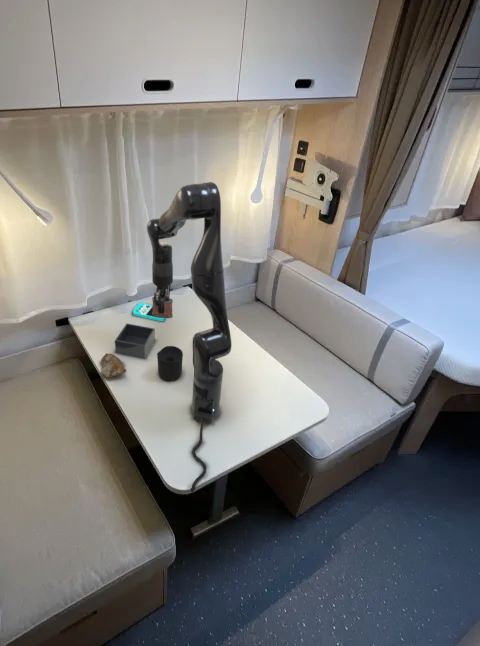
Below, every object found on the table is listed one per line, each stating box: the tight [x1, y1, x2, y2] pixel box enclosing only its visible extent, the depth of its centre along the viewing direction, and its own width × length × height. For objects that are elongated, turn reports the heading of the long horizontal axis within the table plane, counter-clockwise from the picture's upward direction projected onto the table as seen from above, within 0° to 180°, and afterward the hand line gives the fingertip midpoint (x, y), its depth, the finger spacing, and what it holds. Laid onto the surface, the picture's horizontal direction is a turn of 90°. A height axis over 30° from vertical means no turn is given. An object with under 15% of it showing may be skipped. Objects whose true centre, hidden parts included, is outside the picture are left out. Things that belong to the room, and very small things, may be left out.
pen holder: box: [156, 345, 184, 383], centre depth 148 cm, size 9×9×10 cm
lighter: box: [151, 292, 174, 319], centre depth 154 cm, size 8×3×10 cm, turn 76°
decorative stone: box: [100, 352, 127, 378], centre depth 152 cm, size 10×4×15 cm
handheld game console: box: [132, 302, 166, 322], centre depth 186 cm, size 10×16×1 cm, turn 70°
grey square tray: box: [114, 323, 156, 360], centre depth 163 cm, size 12×13×6 cm
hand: (162, 310), depth 155 cm, fingers closed on lighter, 3 cm apart
